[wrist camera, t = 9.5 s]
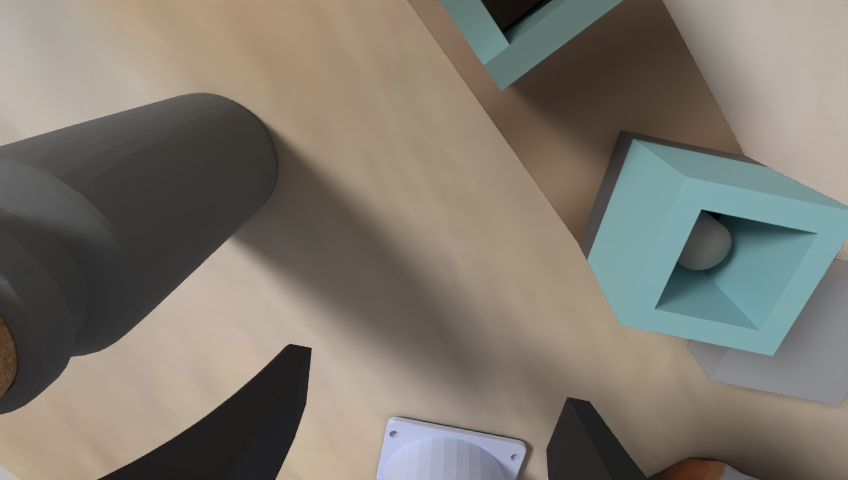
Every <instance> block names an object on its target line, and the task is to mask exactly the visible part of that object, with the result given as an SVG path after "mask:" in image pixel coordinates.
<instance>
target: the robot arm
mask: <svg viewBox="0 0 848 480" xmlns="http://www.w3.org/2000/svg"><path fill="white" fill-rule="evenodd" d="M311 350H312V348H309V347H304V346H298V345H293V344H289V345H287V346H286V347H285V348H284V349H283V350H282V351H281V352H280V353H279V354H278V355H277V356H276V357H275V358H274V359H273V360H272V361H271V362H270V363H269V364H268V365H267V366H265V367H264V368H263V369H262V370H261V371H260V372H259V373H258V374H257V375H256V376H255V377H253V378H252V379H251V380H250V381H249V382H248V383H246V384H245V385H244V386H243V387H242V388H241V389H240V390H238V391H237V392H236V393H235V394H234V395H232V396H231V397H230V398H229V399H227V400H226V401H225V402H223V403H222V404H221V405H220V406H218V407H217V408H216V409H214V410H213V411H212V412H211V413H209V414H208V415H207V416H205V417H204V418H202V419H201V420H200V421H198V422H197V423H195V424H194V425H192V426H191V427H190V428H188V429H187V430H185V431H183V432H182V433H180V434H179V435H177V436H176V437H174V438H173V439H171V440H169V441H168V442H166V443H164V444H163V445H161V446H159V447H158V448H156V449H155V450H153V451H151V452H150V453H148V454H146V455H144V456H142V457H141V458H139V459H137V460H135V461H133V462H132V463H130V464H128V465H126V466H124V467H122V468H120V469H118V470H116V471H114V472H112V473H110V474H108V475H106V476H104V477H102V478H100V479H98V480H275V479H276V477H277V475H278V473H279V471H280V469H281V467H282V464H283V462H284V460H285V458H286V456H287V454H288V451H289V449H290V447H291V445H292V443H293V440H294V438H295V435H296V432H297V429H298V427H299V424H300V421H301V418H302V415H303V412H304V408H305V405H306V400H307V390H308V380H309V370H310V360H311ZM392 431H396V432H392ZM546 452H547V467H548V478H549V480H648V479H647V477H646V476H645V475H644V474H643V472H642V471H641V470H640V469H639V467H638V466H637V465H636V464H635V462H634V461H633V460H632V458H631V457H630V456H629V454H628V453H627V452H626V450H625V449H624V448H623V446H622V445H621V444H620V442H619V441H618V440H617V438H616V437H615V436H614V434H613V433H612V432H611V430H610V429H609V427H608V426H607V425H606V423H605V422H604V421H603V419H602V418H601V416H600V415H599V414H598V412H597V411H596V410H595V408H594V407H593V406H592V404H591V403H590V402H589V401H584V400H579V399H574V398H569V397H568V398H567V400H566V403H565V405H564V407H563V410H562V412H561V415H560V417H559V420H558V422H557V425H556V427H555V429H554V432H553V434H552V437H551V439H550V442H549V444H548V447H547V449H546ZM514 454H517V455H514ZM525 454H526V445H525V443H524V442H523V441H520V440H515V439H510V438H505V437H500V436H495V435H489V434H484V433H479V432H474V431H469V430H463V429H458V428H453V427H448V426H442V425H437V424H432V423H427V422H422V421H416V420H411V419H406V418H401V417H392V418H390V419H389V420H388V422H387V427H386V432H385V437H384V442H383V447H382V452H381V457H380V462H379V467H378V472H377V477H376V480H516V478H517V475H518V472H519V470H520V467H521V465H522V462H523V459H524V457H525Z"/></svg>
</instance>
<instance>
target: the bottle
mask: <svg viewBox="0 0 848 480" xmlns="http://www.w3.org/2000/svg"><path fill="white" fill-rule="evenodd" d="M276 177H277V160H276V155H275V150H274V147H273V144H272V142H271V140H270V137H269V135H268V133H267V132H266V130H265V129H264V127H263V126H262V125H261V123H260V122H259V121H258V120H257V118H256V117H255V116H253V115H252V114H251V113H250V112H249V111H248V110H246V109H245V108H244V107H243V106H241V105H240V104H238V103H236V102H234V101H232V100H230V99H228V98H225V97H222V96H219V95H215V94H208V93H194V94H187V95H181V96H177V97H174V98H170V99H166V100H163V101H159V102H155V103H152V104H148V105H144V106H141V107H137V108H134V109H130V110H126V111H123V112H119V113H116V114H112V115H108V116H105V117H101V118H98V119H94V120H90V121H87V122H83V123H80V124H76V125H73V126H69V127H66V128H62V129H59V130H55V131H52V132H48V133H45V134H41V135H38V136H35V137H31V138H28V139H24V140H21V141H17V142H14V143H10V144H7V145H3V146H0V414H5V413H9V412H12V411H14V410H16V409H18V408H21V407H23V406H25V405H26V404H28V403H29V402H30V401H32V400H33V399H34V398H36V397H37V396H38V395H39V394H40V393H41V392H43V391H44V390H45V389H46V388H47V387H48V386H49V385H50V384H52V383H53V382H54V381H55V380H56V379H57V378H58V377H59V376H60V375H61V373H62V372H63V371H64V369H65V368H66V366H67V364H68V362H69V360H70V358H71V357H73V356H82V355H87V354H91V353H95V352H98V351H101V350H103V349H106V348H107V347H109V346H110V345H112V344H114V343H115V342H117V341H118V340H119V339H121V338H122V337H123V336H124V335H126V334H127V333H128V332H129V331H130V330H131V329H132V328H134V327H135V326H136V325H137V324H138V323H139V322H140V321H141V320H142V319H144V318H145V317H146V316H147V315H148V314H149V313H150V312H151V311H152V310H153V309H155V308H156V307H157V306H158V305H159V304H160V303H161V302H162V301H163V300H164V299H165V298H166V297H167V296H168V295H169V294H170V293H171V292H172V291H174V290H175V289H176V288H177V287H178V286H179V285H180V284H181V283H182V282H183V281H184V280H185V279H186V278H187V277H188V276H189V275H190V274H191V273H193V272H194V271H195V270H196V269H197V268H198V267H199V266H200V265H201V264H202V263H203V262H204V261H205V260H206V259H207V258H208V257H209V256H210V255H211V254H212V253H214V252H215V251H216V250H217V249H218V248H219V247H220V246H221V245H222V244H223V243H224V242H225V241H226V240H227V239H228V238H229V237H230V236H231V235H232V234H233V233H235V232H236V231H237V230H238V229H239V228H240V227H241V226H242V225H243V224H244V223H245V222H246V221H247V220H248V219H249V218H250V217H251V216H252V215H253V214H254V213H255V212H256V211H257V210H258V209H259V208H260V207H261V206H262V205H263V204H264V203H265V201H266V200H267V199H268V197H269V196H270V194H271V192H272V190H273V188H274V185H275V181H276Z"/></svg>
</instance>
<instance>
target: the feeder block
mask: <svg viewBox="0 0 848 480" xmlns="http://www.w3.org/2000/svg"><path fill="white" fill-rule="evenodd" d="M687 347H688V349H689V350H690V352H691V353H692V355H693V356H694V357H695V359H696V360H697V362H698V363H699V365H700V366H701V368H702V369H703V371H704V372H705V374H706V375H707V377H708V378H709V379H710V381H714V382H719V383H725V384H730V385H735V386H740V387H745V388H750V389H755V390H761V391H766V392H771V393H776V394H781V395H786V396H791V397H797V398H802V399H807V400H812V401H817V402H822V403H828V404H833V405H838V406H839V404H840V403H841V401H842V400H843V399H844V397H845V396H846V395H847V393H848V262H847V261H842V260H837V259H833V261H832V262H831V264H830V265H829V267H828V269H827V270H826V272H825V273H824V275H823V277H822V278H821V280H820V281H819V283H818V285H817V286H816V288H815V289H814V291H813V293H812V294H811V296H810V297H809V299H808V301H807V302H806V304H805V305H804V307H803V309H802V310H801V312H800V313H799V315H798V317H797V318H796V320H795V321H794V323H793V325H792V326H791V328H790V329H789V331H788V333H787V334H786V336H785V337H784V339H783V341H782V342H781V344H780V345H779V347H778V348H777V350H776V352H775V353H774V355H773V356H770V355H765V354H760V353H755V352H750V351H745V350H741V349H736V348H731V347H726V346H721V345H716V344H711V343H706V342H701V341H696V340H691V341H690V343H689V345H688V346H687Z"/></svg>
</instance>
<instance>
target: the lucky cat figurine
mask: <svg viewBox="0 0 848 480" xmlns="http://www.w3.org/2000/svg"><path fill="white" fill-rule="evenodd" d="M648 480H760V479H756V478H753V477H750V476H747V475H744V474H742V473H740V472H739V471H737V470H735V469H734V468H732V467H730V466H729V465H727V464H725V463H723V462H720V461H717V460H713V459H702V458H688V459H686V460H684V461H681V462H679V463H677V464H674V465H673V466H671V467H669V468H667V469H665V470H663V471H662V472H660V473H657V474H655V475H653V476H651V477H649V478H648Z"/></svg>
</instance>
